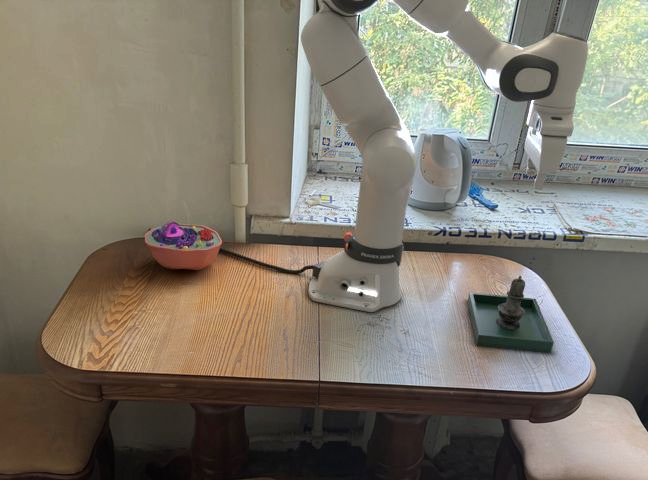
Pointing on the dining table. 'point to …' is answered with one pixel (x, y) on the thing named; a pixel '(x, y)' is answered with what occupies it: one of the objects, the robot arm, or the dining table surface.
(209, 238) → the cell model
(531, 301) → the tray
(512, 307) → the dark grey chess piece
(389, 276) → the robot arm
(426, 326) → the dining table surface
